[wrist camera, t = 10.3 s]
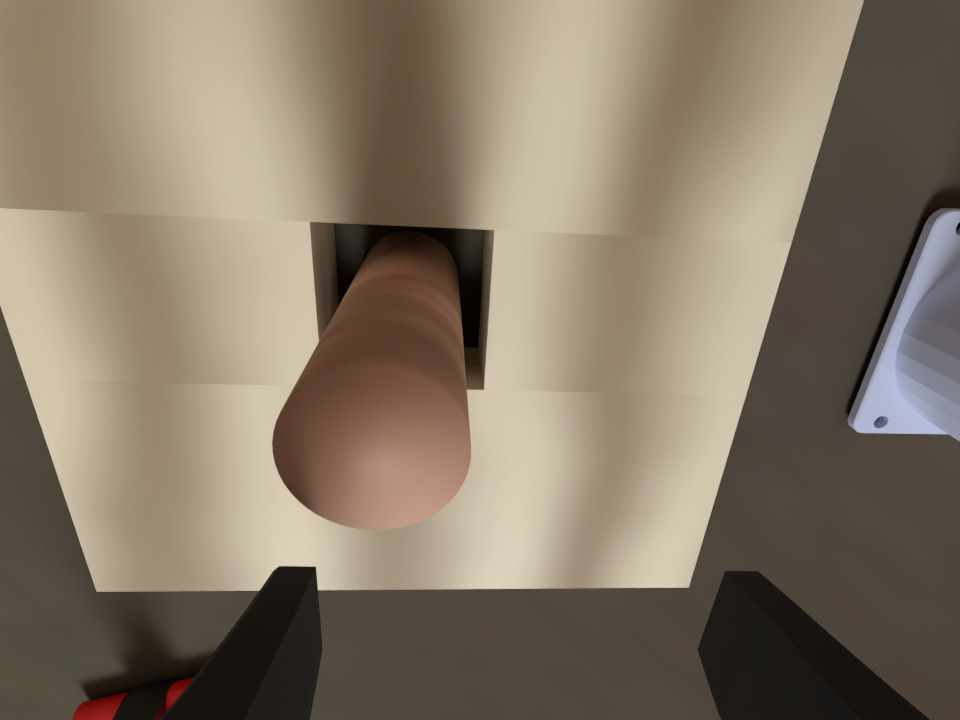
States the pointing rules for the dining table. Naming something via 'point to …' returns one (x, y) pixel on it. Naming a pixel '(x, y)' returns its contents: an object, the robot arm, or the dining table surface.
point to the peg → (383, 395)
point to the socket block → (402, 202)
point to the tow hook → (134, 702)
